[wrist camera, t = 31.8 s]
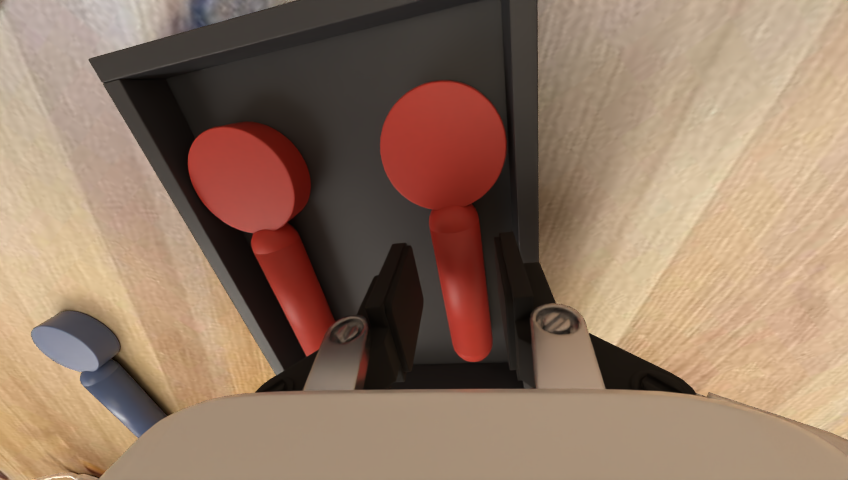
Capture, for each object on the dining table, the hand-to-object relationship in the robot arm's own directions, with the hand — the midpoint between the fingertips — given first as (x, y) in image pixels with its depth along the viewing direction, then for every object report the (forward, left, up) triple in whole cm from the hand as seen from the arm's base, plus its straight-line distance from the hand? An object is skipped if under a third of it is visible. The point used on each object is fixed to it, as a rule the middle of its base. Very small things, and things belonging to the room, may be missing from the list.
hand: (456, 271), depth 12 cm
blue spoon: (+10, -29, -4) cm, 31 cm away
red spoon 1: (0, -9, -3) cm, 9 cm away
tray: (0, -4, -4) cm, 6 cm away
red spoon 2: (0, 0, -3) cm, 3 cm away
